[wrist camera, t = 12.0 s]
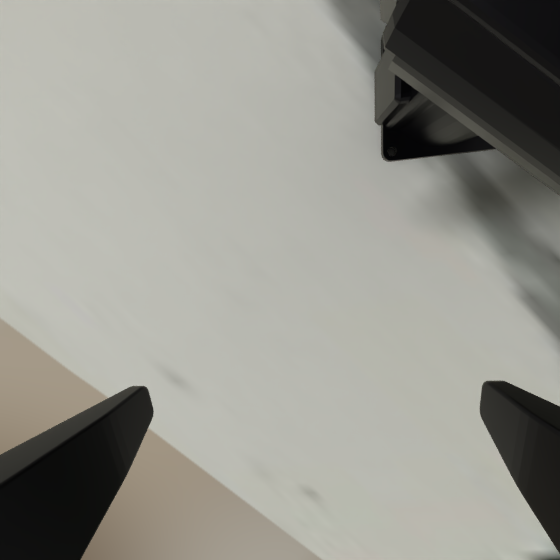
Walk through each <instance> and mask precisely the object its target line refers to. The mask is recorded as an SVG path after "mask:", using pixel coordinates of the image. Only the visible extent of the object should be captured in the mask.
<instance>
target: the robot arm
mask: <svg viewBox="0 0 560 560" xmlns="http://www.w3.org/2000/svg"><path fill="white" fill-rule="evenodd" d="M380 20H382V21H383V22H384V23H386V24H387V25H386V28H385V30H384V32H383V35H382V39H381V60H380V62H379V64H378V66H377V68H376V70H375V122H376V123H377V124H378V125H381V155H382V158H383V159H384V160H385V161H388V162H392V161H400V160H409V159H417V158H426V157H434V156H443V155H451V154H460V153H468V152H477V151H486V150H493V149H497V150H499V151H500V152H501V153H503V154H504V155H505V156H507V157H508V158H509V159H511V160H512V161H514V162H515V163H516V164H518V165H519V166H520V167H522V168H523V169H524V170H526V171H527V172H528V173H530V174H531V175H533V176H534V177H535V178H537V179H538V180H539V181H541V182H542V183H543V184H545V185H546V186H547V187H549V188H550V189H552V190H553V191H554V192H556V193H557V194H558V195H560V0H380ZM389 148H393V149H394V150H395V154H394V155H393V156H389V155H388V152H387V151H388V149H389ZM480 414H481V417H482V420H483V422H484V424H485V426H486V428H487V430H488V432H489V433H490V435H491V437H492V439H493V441H494V443H495V445H496V447H497V449H498V451H499V453H500V455H501V457H502V459H503V461H504V462H505V464H506V466H507V468H508V470H509V472H510V474H511V476H512V478H513V479H514V481H515V483H516V485H517V487H518V488H519V490H520V492H521V493H522V495H523V497H524V498H525V500H526V501H527V503H528V504H529V506H530V508H531V509H532V511H533V512H534V514H535V515H536V517H537V519H538V520H539V522H540V523H541V525H542V527H543V528H544V530H545V531H546V533H547V534H548V536H549V538H550V539H551V541H552V542H553V544H554V545H555V547H556V549H557V550H558V552H559V553H560V406H557V405H555V404H553V403H551V402H549V401H547V400H544V399H542V398H540V397H538V396H536V395H534V394H531V393H529V392H527V391H525V390H523V389H521V388H518V387H516V386H514V385H512V384H510V383H508V382H505V381H486V382H484V383H483V385H482V392H481V401H480ZM152 417H153V406H152V402H151V398H150V395H149V391H148V389H147V387H145V386H131V387H129V388H127V389H125V390H123V391H121V392H119V393H117V394H116V395H114V396H112V397H110V398H108V399H106V400H104V401H102V402H100V403H98V404H97V405H95V406H93V407H91V408H89V409H87V410H85V411H83V412H81V413H79V414H77V415H75V416H74V417H72V418H70V419H68V420H66V421H64V422H62V423H60V424H58V425H56V426H54V427H52V428H51V429H49V430H47V431H45V432H43V433H41V434H39V435H37V436H35V437H33V438H31V439H30V440H28V441H26V442H24V443H22V444H20V445H18V446H16V447H14V448H12V449H10V450H8V451H7V452H5V453H3V454H1V455H0V560H81V558H82V556H83V554H84V552H85V550H86V548H87V547H88V545H89V543H90V541H91V540H92V537H93V536H94V534H95V532H96V530H97V529H98V527H99V525H100V523H101V521H102V520H103V518H104V516H105V514H106V512H107V510H108V509H109V507H110V505H111V503H112V501H113V499H114V498H115V496H116V494H117V492H118V490H119V489H120V487H121V485H122V483H123V481H124V479H125V477H126V475H127V473H128V471H129V469H130V467H131V465H132V463H133V460H134V458H135V456H136V454H137V451H138V449H139V447H140V445H141V443H142V440H143V438H144V436H145V433H146V431H147V429H148V427H149V425H150V422H151V420H152Z"/></svg>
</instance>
